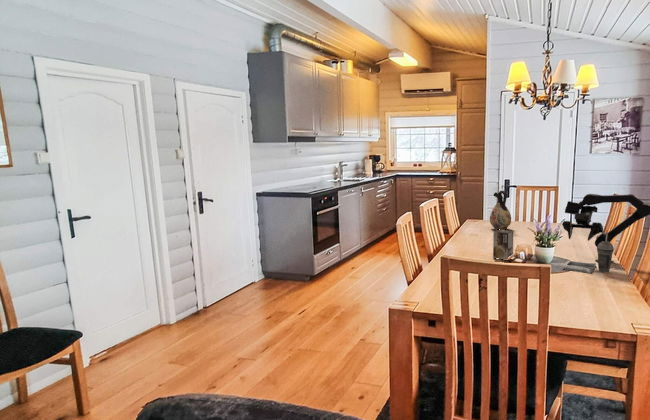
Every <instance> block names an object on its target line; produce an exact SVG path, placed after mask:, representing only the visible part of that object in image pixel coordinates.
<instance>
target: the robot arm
mask: <svg viewBox="0 0 650 420" xmlns="http://www.w3.org/2000/svg"><path fill="white" fill-rule="evenodd" d="M604 203H605V204H606V203H611V204H612V203H630V204H631V206H633V207H634V208H635V210H634V211H633V212H632V213H631V214H630V216H628V217H627V218H625V219H624V220H623V221H621V222H619V224H617V225H616V226H614V227H613V228H612V229H611V230H609V231H607V232H604V227H603V225H602V223H601V222H594V221H593V222H592V216H593V213H597V212H598V210H599V209H598V207H597V206H596V205H599V204H604ZM564 213H565V214H569V215H574V217H573V218H574V220H575V223H572V221H571V220H564V221H563V222H562V223H561V225H562V227H563V230H564V231H566V232H567V235H568V236H567V237H568V240H571V238H572V235H573V229H574V228H575V229H576V228H578V229H589V230H590V231H589V234H588V236H587V241H591V239H593V237H595V236H596V235H597V236H596V238H595V240H594V246H595V247H596V248H597V246H598V244H599V243H600V242H602V241H606V233H608V234H607V241H608V242H610V243H611V242H612V241H613V240H614V239H615V237H617V236H618V235H620V234H621V233H622V232H623V231H625V230H626V229H628V228H629V227H630V226H632V225H633V224H634V223H637V221H639V220H641V219H644V218H646V217H648V216H649V215H650V204H649V203H645V202H643V201H642V200H641V199H640V198H638V197H636V196H635V195H634V194H632V193H630V194H610V195H609V194H608V195H606V194H605V195H602V194H598V193H597V194H596V193H588V194H586V195H584V197H583V198H582V200H581V201H579V202H576V201H575V202H573V201H571V200H568V201H567V203H566V207H565V209H564ZM590 223H592V224H590ZM598 234H599V235H598ZM594 261H595V262H598V258H597V259H595V260H594ZM614 261H615V260H613V259H611V263H614Z"/></svg>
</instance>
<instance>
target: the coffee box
mask: <svg viewBox="0 0 650 420" xmlns="http://www.w3.org/2000/svg"><path fill="white" fill-rule="evenodd" d="M492 233H493V236H492V237H493V238H492V241H493V242H492V243H493V245H492V246H493V247H492V248H493V252H492V259H493V258H499V259H506V258H508V257H509V256H511V255H512V254H513V255H514V231H512V230H494V231H492Z"/></svg>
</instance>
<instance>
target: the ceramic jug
mask: <svg viewBox="0 0 650 420" xmlns="http://www.w3.org/2000/svg"><path fill="white" fill-rule="evenodd" d="M493 196H494V198H497V202H496V204H495V205H494V206H493V208H492V210H491V212H490V216H489V224H490V225H491V226H492V227H493V229H494V230H495V229H500V230H504V231H506V230H508V227H509V226H510V225H511V224H512V215H511V212H510V210H509V208H508V207H507V205H506V203H507V199H508V194H507V192H506V191H505V190H499V191H498V192H496V191H495V192H494V193H493ZM505 229H506V230H505Z"/></svg>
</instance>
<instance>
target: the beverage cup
mask: <svg viewBox="0 0 650 420" xmlns="http://www.w3.org/2000/svg"><path fill="white" fill-rule="evenodd" d="M605 233H606V241H602V242H600V243H599V244H598V246H597V247H596V250H597V259H598V261H597V264H598V266H597V267H598V272H599V273H604V274H605V273H610V270H611V265H612V262H611V260H613V259H612V258H613V254H614V250H615V249H614V246H613V243H611V242H608V241H607V234H608V233H607V232H605Z"/></svg>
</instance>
